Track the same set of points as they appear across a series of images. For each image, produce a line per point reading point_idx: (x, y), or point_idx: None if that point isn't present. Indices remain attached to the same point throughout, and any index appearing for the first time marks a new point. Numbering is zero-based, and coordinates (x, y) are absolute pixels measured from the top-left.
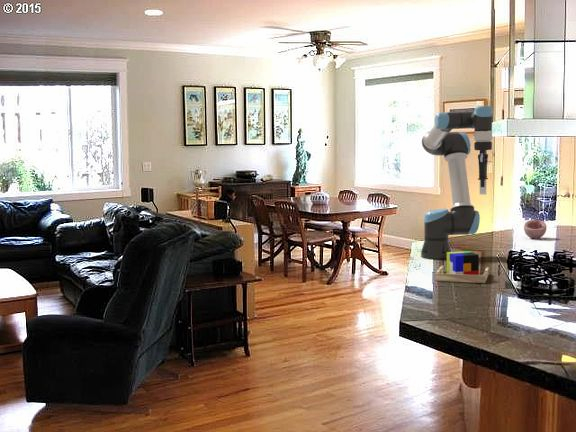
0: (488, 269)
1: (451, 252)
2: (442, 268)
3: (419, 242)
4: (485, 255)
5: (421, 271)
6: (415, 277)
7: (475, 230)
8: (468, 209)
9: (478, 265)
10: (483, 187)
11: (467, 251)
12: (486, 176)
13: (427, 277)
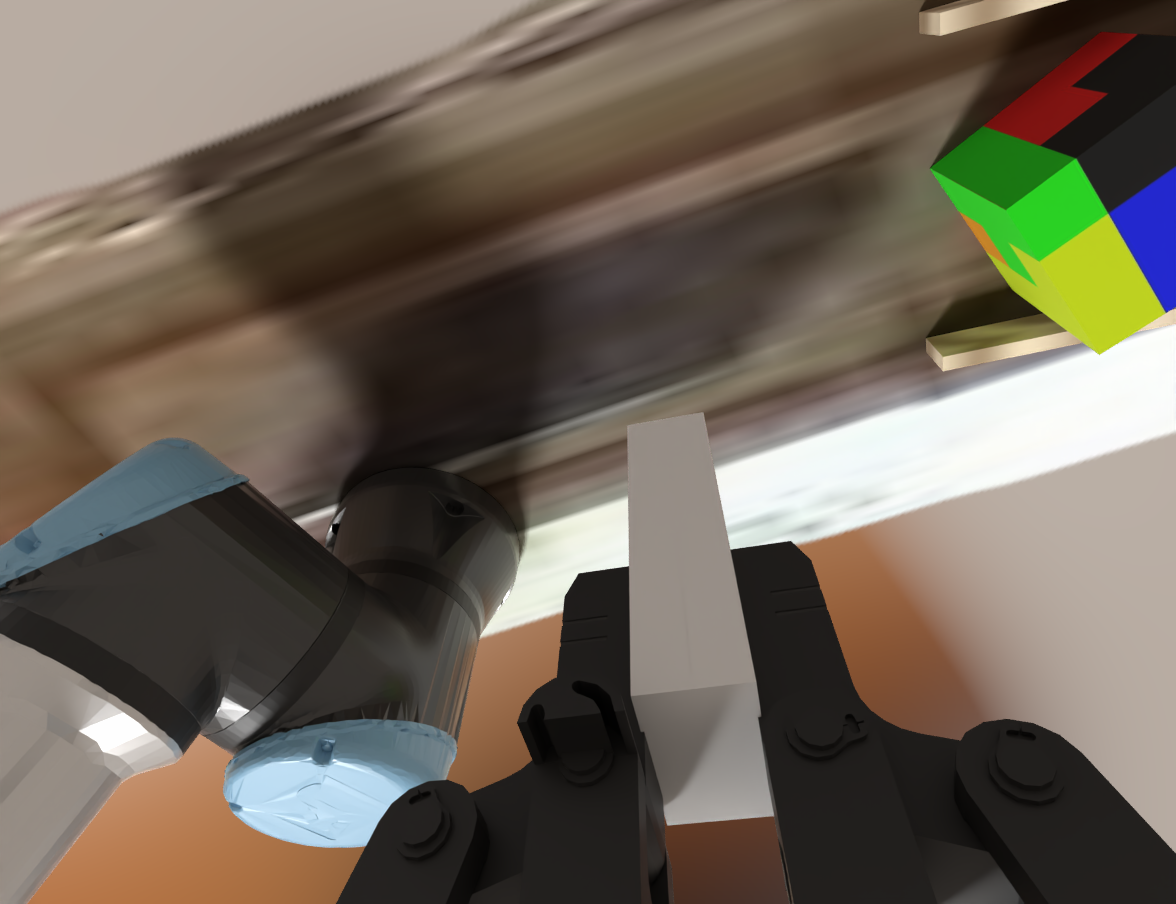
0: (963, 4)
1: (1106, 317)
2: (994, 341)
3: None
4: (196, 305)
5: (926, 458)
6: (1126, 424)
7: (198, 445)
8: (117, 631)
9: (1167, 37)
10: (733, 558)
11: (1033, 213)
12: (458, 824)
13: (1116, 365)
